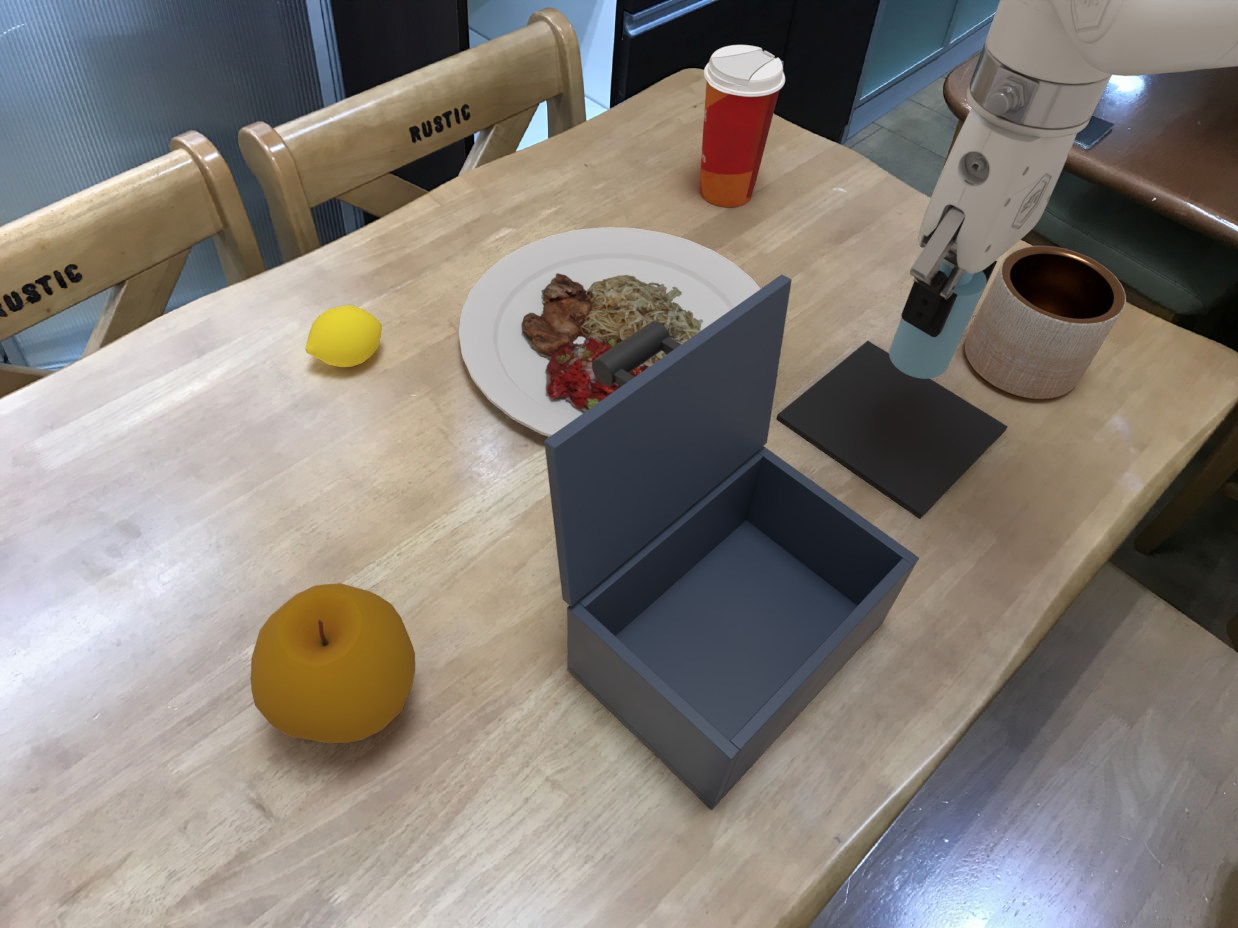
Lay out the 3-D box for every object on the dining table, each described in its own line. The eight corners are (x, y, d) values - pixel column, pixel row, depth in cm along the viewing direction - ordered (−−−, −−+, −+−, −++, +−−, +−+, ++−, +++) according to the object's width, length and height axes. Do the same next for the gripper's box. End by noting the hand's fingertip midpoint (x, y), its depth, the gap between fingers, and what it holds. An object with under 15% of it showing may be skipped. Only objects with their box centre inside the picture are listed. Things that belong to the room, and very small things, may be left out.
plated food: (742, 237, 95) (747, 210, 92) (813, 451, 76) (822, 425, 74) (459, 247, 92) (456, 220, 89) (461, 473, 73) (457, 447, 70)
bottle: (959, 359, 72) (1009, 254, 64) (927, 388, 70) (975, 283, 62) (909, 329, 74) (951, 224, 66) (877, 356, 72) (916, 251, 64)
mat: (1005, 430, 79) (1007, 426, 78) (919, 519, 72) (922, 514, 72) (866, 344, 85) (867, 340, 85) (776, 418, 78) (777, 414, 78)
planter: (1055, 421, 80) (1104, 343, 72) (943, 367, 84) (979, 287, 76) (1094, 356, 85) (1144, 278, 78) (987, 308, 89) (1025, 229, 82)
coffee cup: (726, 163, 104) (746, 34, 92) (777, 196, 100) (804, 67, 88) (673, 187, 100) (687, 57, 88) (723, 223, 96) (745, 91, 85)
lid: (792, 279, 54) (728, 246, 56) (554, 448, 45) (490, 401, 47) (767, 443, 64) (714, 410, 67) (570, 607, 55) (518, 561, 58)
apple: (278, 790, 56) (222, 716, 47) (278, 654, 62) (228, 565, 53) (433, 757, 58) (407, 679, 49) (419, 628, 64) (393, 537, 55)
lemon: (375, 328, 84) (365, 283, 79) (397, 364, 81) (388, 319, 76) (302, 353, 81) (288, 308, 77) (322, 391, 78) (308, 346, 74)
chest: (883, 621, 66) (919, 557, 59) (711, 810, 57) (731, 759, 50) (743, 514, 72) (761, 444, 65) (566, 669, 63) (566, 607, 56)
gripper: (1024, 161, 49) (921, 390, 63) (1153, 62, 57) (1036, 285, 71) (908, 106, 52) (835, 336, 66) (1046, 20, 60) (955, 242, 74)
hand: (940, 308), depth 68 cm, fingers closed on bottle, 4 cm apart
